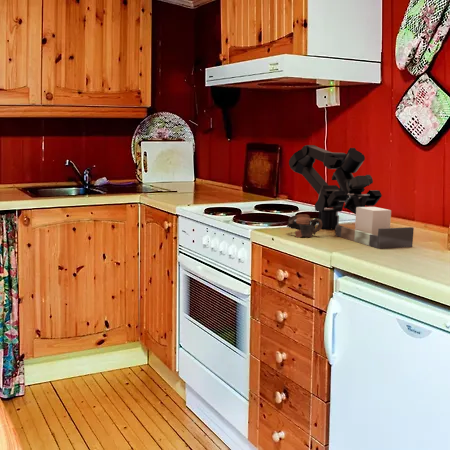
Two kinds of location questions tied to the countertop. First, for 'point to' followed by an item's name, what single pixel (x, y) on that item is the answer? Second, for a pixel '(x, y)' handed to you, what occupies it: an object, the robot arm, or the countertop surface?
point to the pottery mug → (304, 225)
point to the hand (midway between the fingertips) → (363, 218)
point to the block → (372, 219)
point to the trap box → (379, 237)
